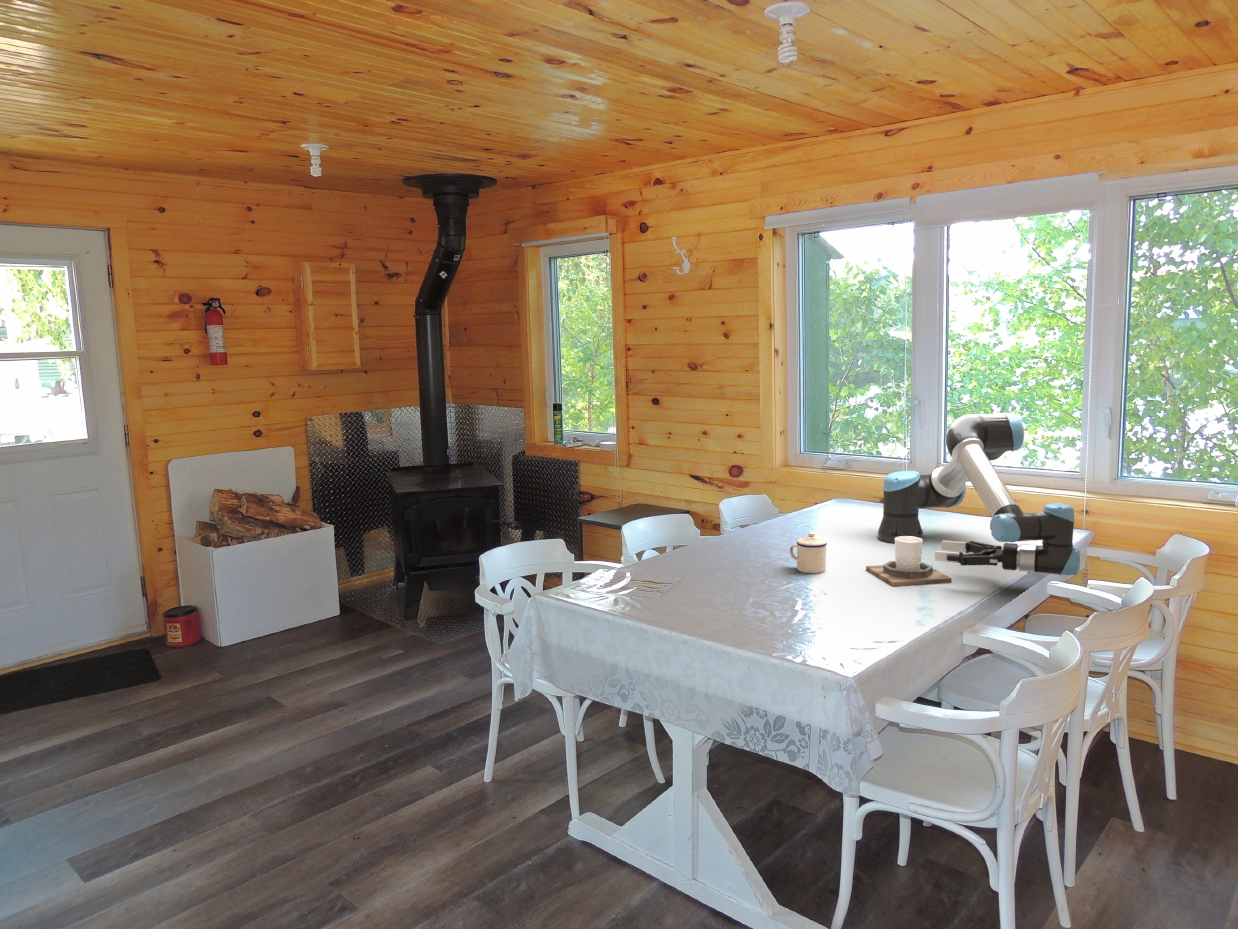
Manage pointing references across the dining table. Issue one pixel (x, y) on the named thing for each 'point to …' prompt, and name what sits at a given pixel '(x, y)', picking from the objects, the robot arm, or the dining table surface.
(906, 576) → the ring holder
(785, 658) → the dining table surface
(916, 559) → the white cup
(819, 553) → the teacup with lid
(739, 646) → the dining table surface
